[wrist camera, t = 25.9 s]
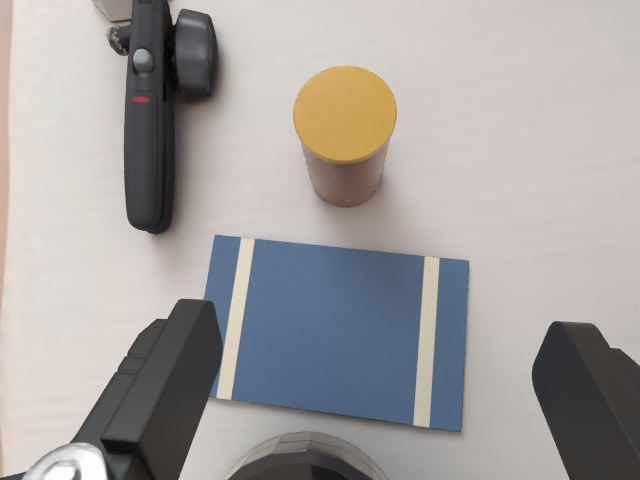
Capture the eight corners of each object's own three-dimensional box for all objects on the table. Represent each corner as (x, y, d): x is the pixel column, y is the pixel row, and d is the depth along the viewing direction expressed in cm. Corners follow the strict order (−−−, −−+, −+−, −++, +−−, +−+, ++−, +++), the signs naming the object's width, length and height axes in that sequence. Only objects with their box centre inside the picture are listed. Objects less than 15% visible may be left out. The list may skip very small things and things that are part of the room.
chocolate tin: (397, 175, 29) (418, 113, 21) (343, 223, 29) (340, 181, 20) (348, 126, 30) (348, 46, 22) (294, 171, 30) (272, 110, 21)
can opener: (144, 28, 33) (104, -29, 28) (226, 28, 33) (202, -31, 27) (112, 237, 30) (59, 218, 24) (203, 240, 29) (170, 222, 24)
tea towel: (467, 261, 28) (469, 260, 27) (459, 430, 26) (461, 432, 25) (216, 235, 29) (214, 234, 29) (190, 392, 27) (187, 393, 27)
